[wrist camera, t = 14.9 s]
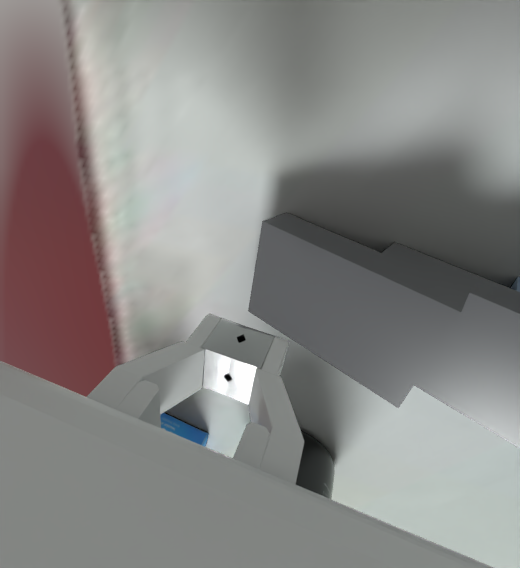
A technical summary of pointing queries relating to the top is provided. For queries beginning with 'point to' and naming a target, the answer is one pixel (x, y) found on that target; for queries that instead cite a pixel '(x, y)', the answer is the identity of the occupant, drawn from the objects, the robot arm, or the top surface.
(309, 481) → the supplement bottle
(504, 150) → the top surface
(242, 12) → the top surface
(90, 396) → the robot arm
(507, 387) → the domino
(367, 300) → the domino
